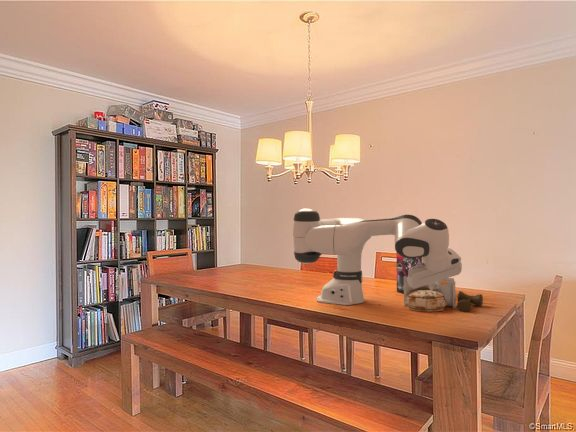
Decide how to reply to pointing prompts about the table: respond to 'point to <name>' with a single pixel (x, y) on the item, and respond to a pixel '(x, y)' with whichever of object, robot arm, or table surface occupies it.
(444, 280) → the bracket
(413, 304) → the trinket box
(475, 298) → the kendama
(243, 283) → the table surface
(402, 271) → the graphics card box
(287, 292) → the table surface
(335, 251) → the robot arm
